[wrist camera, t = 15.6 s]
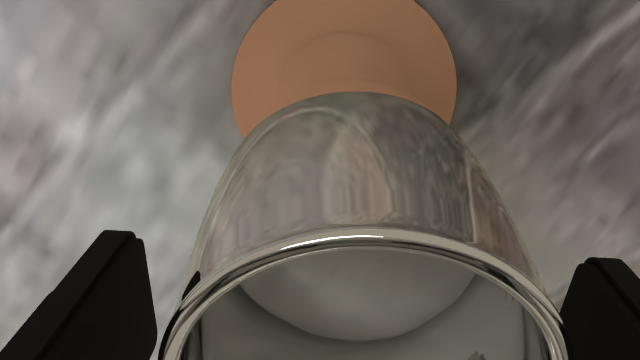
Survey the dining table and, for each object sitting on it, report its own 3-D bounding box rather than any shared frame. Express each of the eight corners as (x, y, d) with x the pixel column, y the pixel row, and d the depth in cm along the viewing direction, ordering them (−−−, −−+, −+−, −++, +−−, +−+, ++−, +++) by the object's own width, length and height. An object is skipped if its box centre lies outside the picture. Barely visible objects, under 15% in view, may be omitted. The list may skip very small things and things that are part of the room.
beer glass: (366, -16, 18) (455, 111, 5) (450, 119, 21) (656, 441, 8) (233, 83, 20) (46, 362, 7) (325, 195, 23) (313, 555, 10)
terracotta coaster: (497, 104, 21) (501, 108, 20) (333, 225, 24) (333, 231, 24) (355, -82, 18) (355, -83, 17) (188, 88, 21) (184, 92, 21)
